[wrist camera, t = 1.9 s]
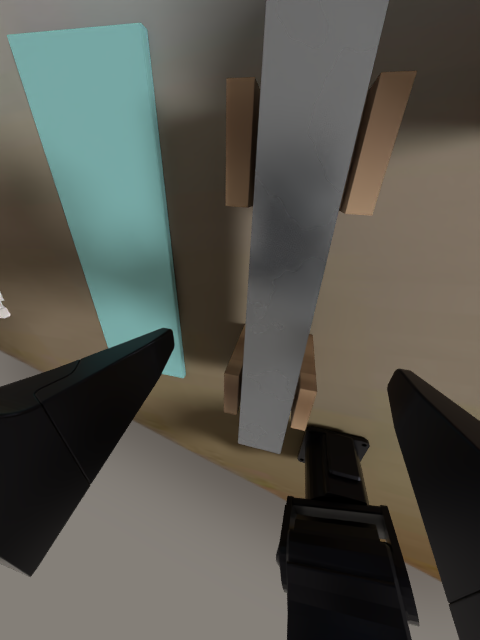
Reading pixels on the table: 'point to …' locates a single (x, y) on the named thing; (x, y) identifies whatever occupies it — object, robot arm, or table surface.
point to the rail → (299, 188)
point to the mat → (107, 170)
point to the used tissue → (3, 309)
